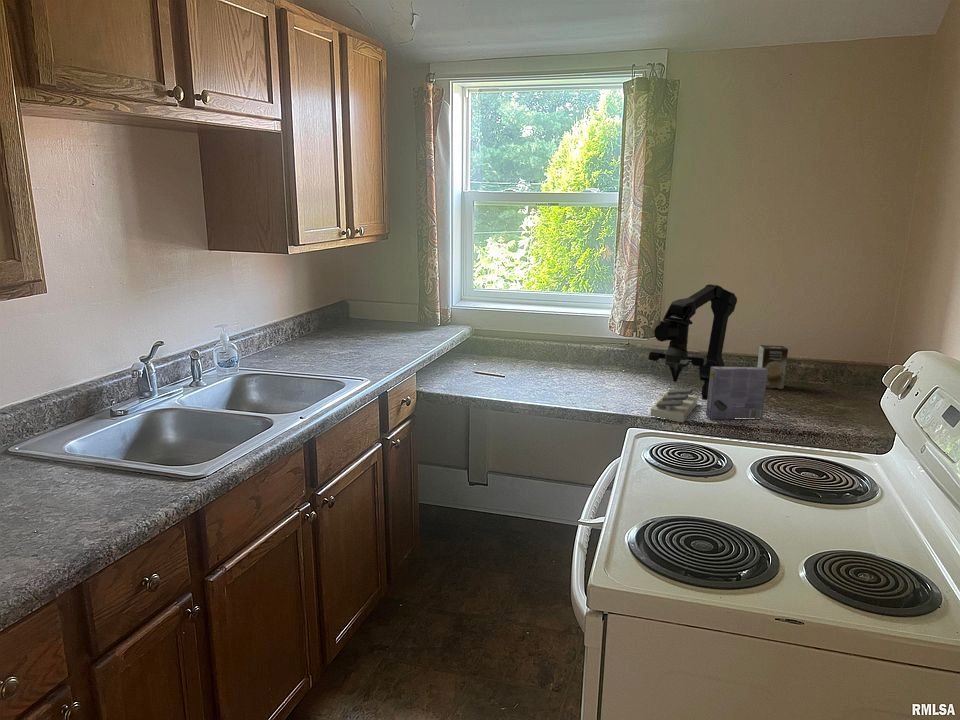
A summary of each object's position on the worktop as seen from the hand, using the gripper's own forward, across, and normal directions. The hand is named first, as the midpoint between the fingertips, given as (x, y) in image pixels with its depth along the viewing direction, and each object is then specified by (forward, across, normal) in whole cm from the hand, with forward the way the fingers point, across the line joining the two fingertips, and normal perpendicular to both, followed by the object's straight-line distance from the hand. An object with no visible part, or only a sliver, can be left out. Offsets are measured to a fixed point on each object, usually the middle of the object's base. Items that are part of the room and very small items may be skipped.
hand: (675, 381), depth 239 cm
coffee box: (+10, +26, +49) cm, 56 cm away
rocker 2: (+6, +1, -8) cm, 10 cm away
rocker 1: (+6, 0, 0) cm, 6 cm away
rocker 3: (+6, 0, +8) cm, 10 cm away
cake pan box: (+10, +20, +2) cm, 23 cm away
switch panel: (+10, 0, 0) cm, 10 cm away
